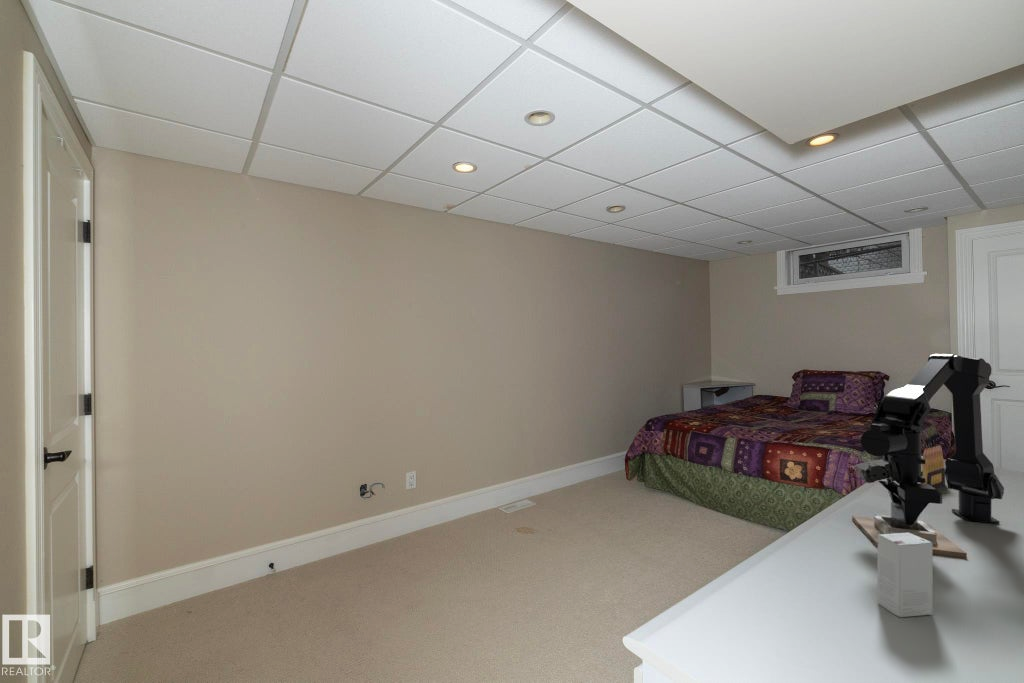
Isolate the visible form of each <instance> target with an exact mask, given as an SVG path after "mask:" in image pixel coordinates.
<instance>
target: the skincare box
mask: <svg viewBox="0 0 1024 683" xmlns="http://www.w3.org/2000/svg"><path fill="white" fill-rule="evenodd" d="M932 552H933V544H932V542H930V541H928V540H925V539H923V538H921V537H918V536H916V535H914V534H911V533H894V534H878V547H877V577H876V578H877V581H876V582H877V588H876V589H877V597H876V598H877V600H876V601H877V604H879V605H880V606H882V607H883V608H884V609H886V610H887V611H888V612H890V613H892V614H894V615H895V616H897V617H898V618H906V617H916V616H918V617H919V616H928V615H933V554H932Z"/></svg>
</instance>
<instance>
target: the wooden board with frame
mask: <svg viewBox="0 0 1024 683" xmlns="http://www.w3.org/2000/svg"><path fill="white" fill-rule="evenodd" d="M851 517H852V518H851V520H852V521H853V523H854V524H855V525H856V526H857V527H858V528H859V529H860V530H861V531H862V533H864V535H865V536H866V537H867V539H869V541H870V542H872V544H873V545H874V546H875V547H877V548H878V534H894V533H911V534H914V535H916V536H918V537H921V538H923V539H925V540H928V541H930V542H932V544H933V552H932V555H939V556H946V557H954V558H955V557H956V558H963V559H967V558H968V557H967V552H966V551H964V550H963V549H962V548H960V547H959V546H958V545H957V544H956V543H954V542H953V541H952V540H950V539H949V538H948V537H947V536H945V535H944V534H943V533H941V532H940V531H939V530H937V529H936V528H935V527H933V526H932V525H931V524H930V523H925V522H924V521H922V520H918V530H908V529H900V528H895V527H893V526H892V525H891V515H885V514H878V513H877V514H874V517H865V516H857V515H852V516H851Z"/></svg>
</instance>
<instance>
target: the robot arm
mask: <svg viewBox="0 0 1024 683" xmlns="http://www.w3.org/2000/svg"><path fill="white" fill-rule="evenodd" d="M991 374H992V366H991V364H990V363H989V362H986V361H985V359H984V358H980V357H979V358H978V357H965V356H964V357H963V356H961V355H957V354H956V353H953V354H952V353H949V354H948V353H934V354H930V355H929V357H928V359H927V362H926V363H925V364H924V365H923V366H922V368H921V369H920V370H919V371H918V372H917V373H916V374H915V375H914V377H913V378H912V379H910V381H909V382H908V383H907V384H906V385H905V386H902V387H900V388H899V387H898V388H895V389H893V390H891V391H890V392H889V393H887V394H886V395H885V396H884V397H883V398H882V399H881V400H880V402H879V404H878V407H877V410H876V411H875V414H874V416H873V418H872V420H871V424H870V429H868V430H865V431H864V432H863V433H862V435H861V437H860V444H861V447H862V448H863V450H864V452H866V453H868V454H869V455H871V456H873V457H882V458H881V459H880V458H879V459H873V460H870V461H865V462H860V463H857V464H855V468H856V470H857V472H858V475H859V476H860V479H861V480H864V482H865V483H867V484H872V483H875V482H878V483H879V484H880V485H881V486H883V488H885V489H886V490H887V491H888V494H889V498H890V500H891V501H890V502H893V501H899V502H902V508H903V513H904V518H905V523H906V524H907V525H913V524H914V522H915V521H916V519H917V518H919V517H920V515H921V514H922V512H923V511H924V510H925V509H926V507H927V506H929V504H937V505H941V504H943V494H942V492H940V491H939V490H938V489H937V488H934V487H932V486H930V485H929V484H921V483H925V478H924V477H922V476H921V471H922V464H925V459H923V457H922V431H926V427H925V426H924V425H923V423H924V421H925V420H926V419H927V418H928V416H929V415H930V411H931V410H932V408H931V406H930V401H931V399H932V398H933V396H934V395H935V394H936V393H937V392H938V391H939V390H940V389H941V388H942V386H943V385H944V386H945V388H946V389H947V390H948V391H949V392H950V393H951V397H952V399H951V400H952V416H953V432H954V433H953V434H954V436H953V437H954V452H953V454H952V455H950V457H948V458H946V459H945V461H944V463H945V467H944V468H945V482H946V486H947V488H948V489H949V490H954V491H958V509H957V508H951V512H952V513H954V514H955V515H957V516H958V517H960V518H962V519H963V520H964V521H972V522H979V523H980V522H981V523H989V524H1000V523H1001V522H1000V521H999V520H998V519H997V518H994V517H993V516H992V513H993V512H992V500H995V499H996V500H1002V499H1003V497H1004V494H1005V487H1004V485H1003V484H1002V483H1001V481H1000V479H999V478H998V476H997V475H996V474H995V469H994V464H993V463H992V462H991V460H990V458H988V457H987V455H985V453H984V448H983V429H982V428H983V425H982V411H981V410H982V407H981V393H982V392H983V390H985V388H986V387H988V385H989V384H990V377H991Z"/></svg>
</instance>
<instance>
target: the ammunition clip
mask: <svg viewBox="0 0 1024 683" xmlns="http://www.w3.org/2000/svg"><path fill="white" fill-rule="evenodd" d="M922 458H923V459H925V464H921V476H922V477H924V478H925V483H920V484H929V485H930V486H932V487H934V488H935V489H937V487H938V488H941V487H943V486H942V485H944V486H945V485H946V476H945V468H946V467H944V463H945V461H944V454H943V449H942V446H941V444H938V445H936V446H933V447H932V446H931V447H928V448H924V451H923V457H922ZM940 486H941V487H940Z"/></svg>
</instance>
